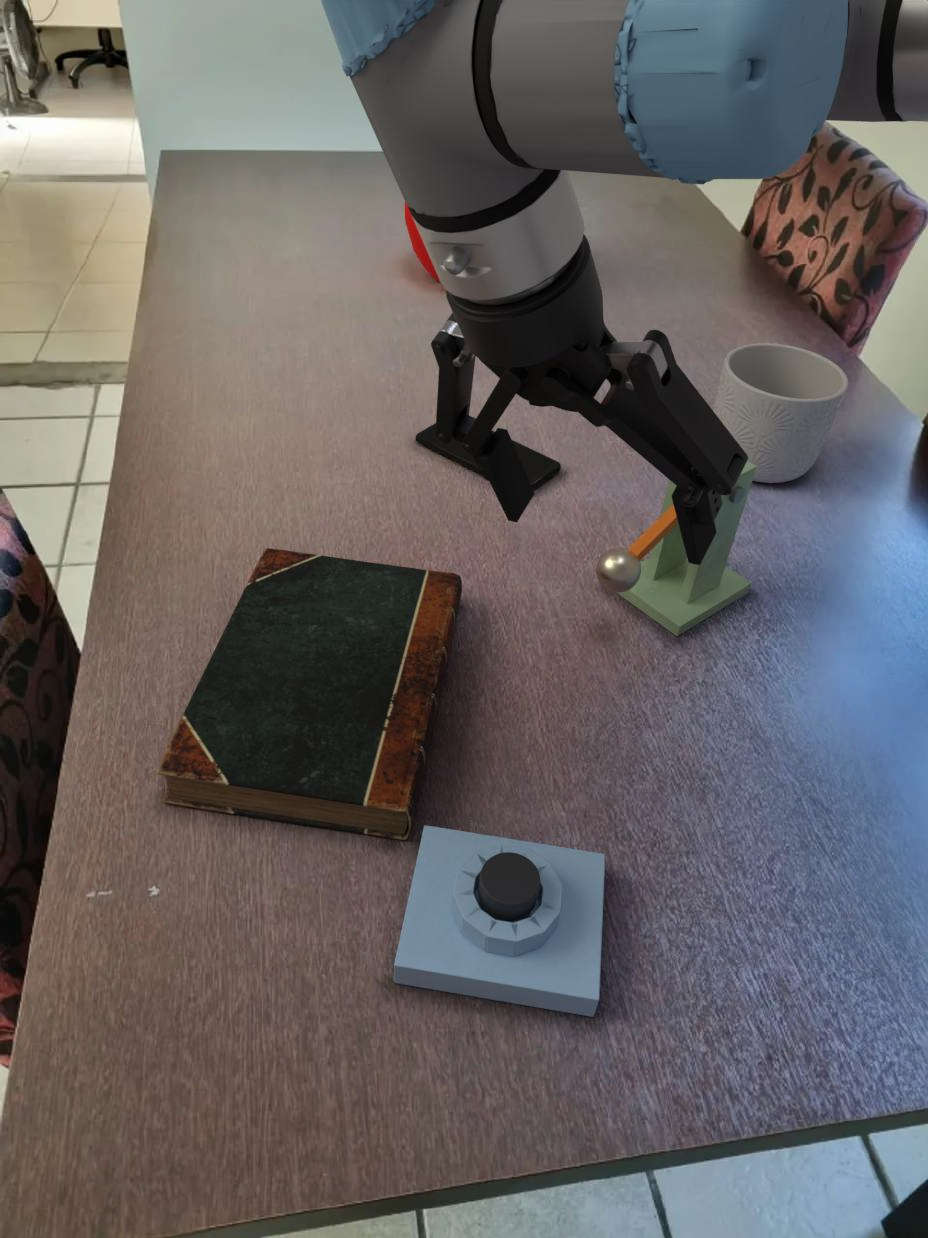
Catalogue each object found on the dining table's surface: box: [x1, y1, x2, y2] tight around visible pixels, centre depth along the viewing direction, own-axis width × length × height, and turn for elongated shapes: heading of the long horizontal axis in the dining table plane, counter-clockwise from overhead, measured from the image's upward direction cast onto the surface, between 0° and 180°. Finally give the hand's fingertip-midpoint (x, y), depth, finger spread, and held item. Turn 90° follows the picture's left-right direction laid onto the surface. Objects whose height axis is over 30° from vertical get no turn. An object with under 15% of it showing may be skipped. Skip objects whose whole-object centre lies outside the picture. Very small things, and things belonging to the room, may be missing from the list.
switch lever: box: [595, 504, 678, 594], centre depth 76 cm, size 14×4×4 cm, turn 129°
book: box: [156, 547, 463, 841], centre depth 72 cm, size 17×4×25 cm
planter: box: [712, 342, 849, 484], centre depth 99 cm, size 12×12×11 cm
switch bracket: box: [615, 461, 757, 637], centre depth 80 cm, size 10×8×14 cm
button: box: [478, 852, 540, 920], centre depth 56 cm, size 4×4×2 cm
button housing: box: [393, 824, 606, 1018], centre depth 58 cm, size 12×10×4 cm
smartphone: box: [415, 422, 562, 490], centre depth 99 cm, size 7×1×15 cm
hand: (607, 526), depth 63 cm, fingers open, 13 cm apart
